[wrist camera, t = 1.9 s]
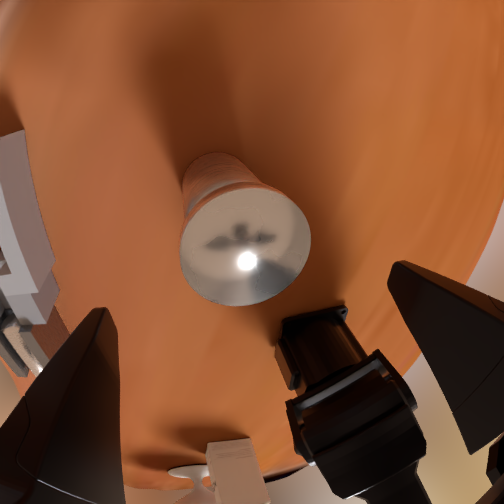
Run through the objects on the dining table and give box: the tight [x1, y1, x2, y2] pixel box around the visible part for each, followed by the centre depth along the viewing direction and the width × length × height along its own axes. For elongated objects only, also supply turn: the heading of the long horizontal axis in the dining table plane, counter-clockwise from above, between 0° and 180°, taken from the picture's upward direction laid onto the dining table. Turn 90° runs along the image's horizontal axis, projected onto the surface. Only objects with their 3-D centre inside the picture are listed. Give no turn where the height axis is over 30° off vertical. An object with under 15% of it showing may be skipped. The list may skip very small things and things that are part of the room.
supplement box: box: [205, 438, 271, 504], centre depth 33 cm, size 7×7×13 cm
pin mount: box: [0, 306, 70, 377], centre depth 15 cm, size 5×5×4 cm
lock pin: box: [1, 313, 43, 378], centre depth 16 cm, size 3×11×3 cm, turn 179°
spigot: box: [179, 152, 311, 306], centre depth 13 cm, size 5×5×8 cm
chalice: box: [168, 465, 217, 504], centre depth 38 cm, size 14×14×15 cm
